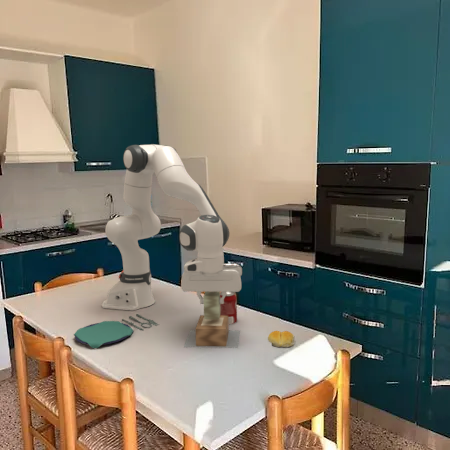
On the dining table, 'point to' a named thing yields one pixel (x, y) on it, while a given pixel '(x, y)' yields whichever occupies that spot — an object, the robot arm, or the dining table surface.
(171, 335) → the dining table surface
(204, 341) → the wooden cube box
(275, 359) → the dining table surface
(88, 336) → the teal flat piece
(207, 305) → the sage block
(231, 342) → the grey flat slab
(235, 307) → the soda can
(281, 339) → the bread roll
